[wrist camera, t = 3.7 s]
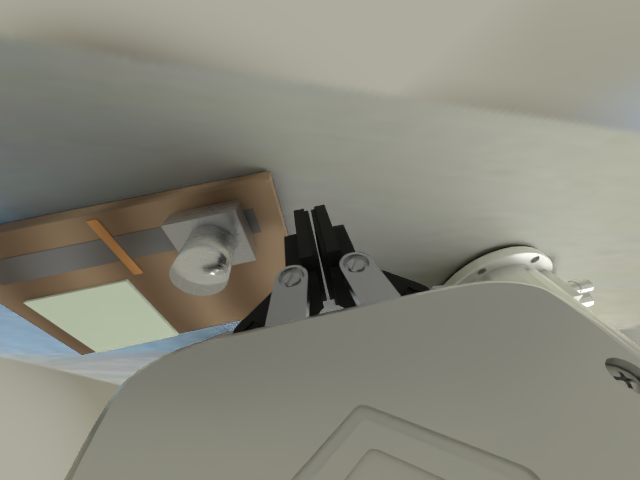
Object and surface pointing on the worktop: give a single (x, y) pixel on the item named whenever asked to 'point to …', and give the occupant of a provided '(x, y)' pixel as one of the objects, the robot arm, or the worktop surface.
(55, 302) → the pad
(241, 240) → the silver slider knob
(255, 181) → the board
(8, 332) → the worktop surface
